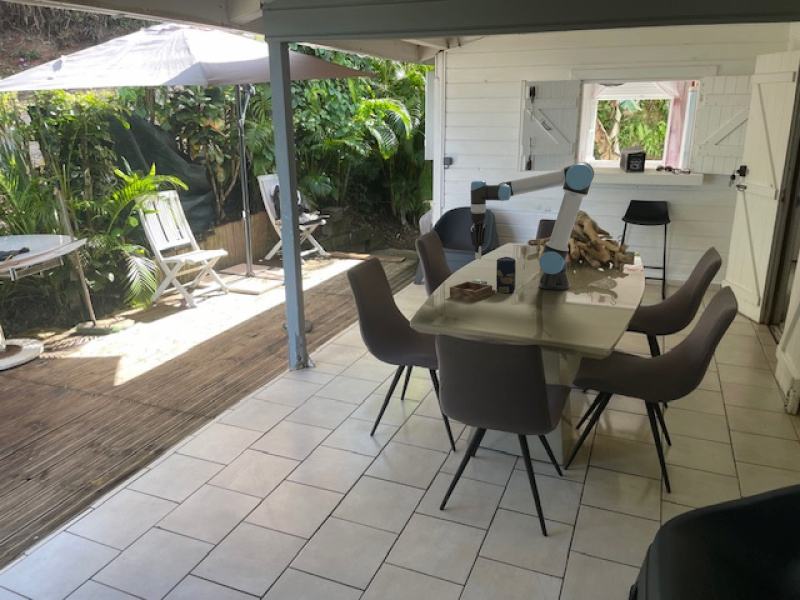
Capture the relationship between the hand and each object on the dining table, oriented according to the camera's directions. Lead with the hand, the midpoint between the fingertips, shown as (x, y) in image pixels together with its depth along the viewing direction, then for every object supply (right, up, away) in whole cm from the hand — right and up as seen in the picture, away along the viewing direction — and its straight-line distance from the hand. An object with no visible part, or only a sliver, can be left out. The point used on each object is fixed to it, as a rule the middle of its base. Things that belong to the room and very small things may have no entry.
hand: (478, 258), depth 312 cm
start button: (0, -14, +4) cm, 15 cm away
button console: (0, -15, +4) cm, 16 cm away
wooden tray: (-4, -19, -9) cm, 21 cm away
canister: (+14, -17, -3) cm, 22 cm away
